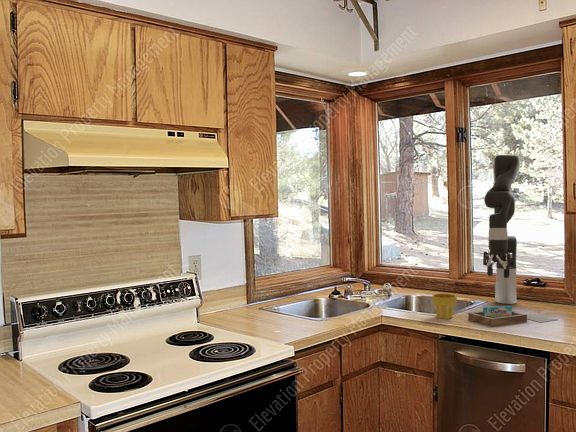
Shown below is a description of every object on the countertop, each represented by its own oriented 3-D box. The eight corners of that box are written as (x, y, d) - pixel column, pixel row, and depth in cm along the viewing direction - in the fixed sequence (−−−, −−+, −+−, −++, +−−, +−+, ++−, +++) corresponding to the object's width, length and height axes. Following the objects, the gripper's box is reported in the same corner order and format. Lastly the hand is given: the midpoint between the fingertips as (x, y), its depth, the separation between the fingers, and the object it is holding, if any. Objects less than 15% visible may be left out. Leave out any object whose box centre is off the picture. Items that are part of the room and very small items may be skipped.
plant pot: (451, 320, 238) (451, 298, 238) (428, 318, 245) (428, 296, 244) (460, 316, 247) (460, 294, 246) (437, 313, 253) (437, 292, 252)
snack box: (510, 320, 238) (510, 305, 238) (511, 320, 236) (511, 306, 236) (482, 321, 237) (482, 306, 237) (484, 321, 236) (484, 307, 236)
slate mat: (514, 316, 245) (514, 315, 245) (531, 313, 249) (531, 313, 249) (540, 322, 232) (540, 322, 232) (558, 319, 236) (558, 319, 236)
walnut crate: (468, 319, 239) (468, 313, 239) (502, 315, 247) (502, 308, 247) (492, 326, 227) (492, 319, 226) (526, 321, 234) (526, 314, 234)
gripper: (518, 239, 230) (518, 278, 230) (491, 237, 243) (491, 274, 243) (505, 239, 227) (505, 279, 227) (478, 238, 239) (478, 275, 239)
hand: (498, 276), depth 235 cm, fingers open, 8 cm apart
